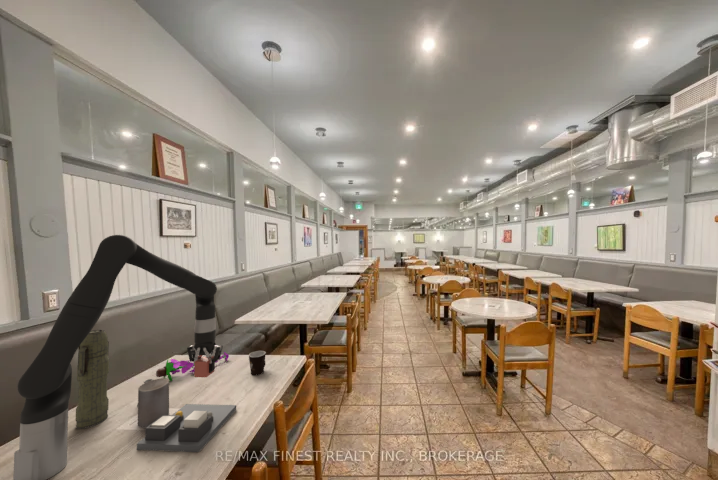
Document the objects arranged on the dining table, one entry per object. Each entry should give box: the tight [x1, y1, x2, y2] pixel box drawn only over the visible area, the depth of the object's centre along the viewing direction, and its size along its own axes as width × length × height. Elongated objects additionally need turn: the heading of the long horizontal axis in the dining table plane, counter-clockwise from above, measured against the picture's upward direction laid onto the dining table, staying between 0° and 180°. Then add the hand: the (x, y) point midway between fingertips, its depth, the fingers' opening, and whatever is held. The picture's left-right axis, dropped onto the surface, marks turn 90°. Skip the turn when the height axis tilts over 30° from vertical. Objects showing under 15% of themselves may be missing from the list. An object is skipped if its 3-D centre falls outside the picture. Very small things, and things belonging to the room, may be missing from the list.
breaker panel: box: [136, 403, 237, 453], centre depth 95 cm, size 22×22×6 cm
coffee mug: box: [248, 350, 267, 376], centre depth 137 cm, size 12×9×10 cm
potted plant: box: [155, 351, 230, 382], centre depth 142 cm, size 12×16×35 cm
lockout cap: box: [193, 356, 215, 378], centre depth 103 cm, size 5×5×6 cm
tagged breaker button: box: [151, 416, 175, 427], centre depth 90 cm, size 5×5×4 cm
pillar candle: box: [137, 377, 170, 428], centre depth 101 cm, size 10×10×15 cm
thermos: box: [75, 329, 110, 430], centre depth 101 cm, size 9×12×35 cm
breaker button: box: [184, 411, 207, 428], centre depth 89 cm, size 5×5×4 cm
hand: (204, 371), depth 103 cm, fingers closed on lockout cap, 5 cm apart
